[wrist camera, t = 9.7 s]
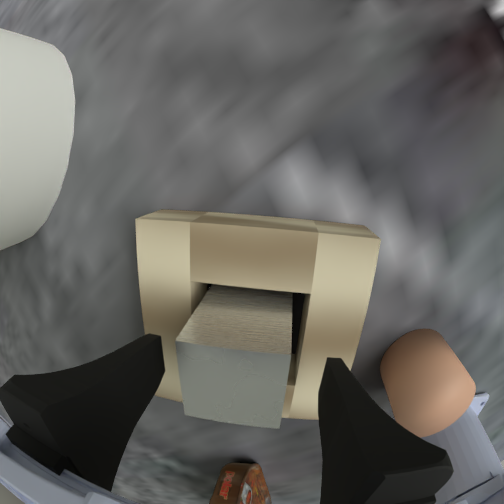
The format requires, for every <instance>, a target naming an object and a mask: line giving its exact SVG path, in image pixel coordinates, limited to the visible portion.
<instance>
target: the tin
mask: <svg viewBox="0 0 504 504" xmlns="http://www.w3.org/2000/svg"><path fill="white" fill-rule="evenodd" d="M209 504H271V497H270V494H269V491H268V488H267V485H266V482H265V479H264V476H263V473H262V469H261V467H260V465H259V464H257V463H254V464H245V463H228V464H226V465H225V466H224V467H223V468H222V469H221V471H220V476H219V478H218V481H217V483H216V486H215V489H214V492H213V495H212V497H211V499H210V503H209Z"/></svg>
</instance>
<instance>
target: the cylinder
mask: <svg viewBox="0 0 504 504" xmlns="http://www.w3.org/2000/svg"><path fill="white" fill-rule="evenodd" d="M74 112H75V96H74V88H73V79H72V73H71V71H70V69H69V66H68V64H67V61H66V58H65V56H64V55H63V54H62V53H61V52H60V51H59V50H58V49H57V48H56V47H55V46H54V45H52V44H49V43H46V42H43V41H40V40H37V39H34V38H31V37H28V36H25V35H21V34H18V33H15V32H11V31H8V30H4V29H1V28H0V250H3V249H5V248H8V247H10V246H13V245H15V244H18V243H20V242H22V241H24V240H26V239H28V238H30V237H32V236H34V235H35V233H36V232H37V231H38V230H39V229H40V227H41V226H42V225H43V224H44V223H45V222H46V221H47V219H48V217H49V214H50V212H51V210H52V208H53V206H54V204H55V202H56V200H57V199H58V196H59V193H60V189H61V186H62V183H63V180H64V176H65V173H66V170H67V167H68V161H69V155H70V150H71V144H72V139H73V134H74Z"/></svg>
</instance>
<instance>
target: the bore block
mask: <svg viewBox="0 0 504 504" xmlns="http://www.w3.org/2000/svg"><path fill="white" fill-rule="evenodd" d="M380 241H381V239H380V238H379V237H378V236H376V235H375V234H374V233H373V232H372V231H370V230H369V229H368V228H367V227H365V226H363V225H354V224H344V223H335V222H325V221H315V220H305V219H294V218H283V217H271V216H258V215H245V214H232V213H217V212H201V211H184V210H164V209H161V210H158V211H156V212H153V213H150V214H147V215H144V216H142V217H139V218H136V244H137V262H138V275H139V287H140V297H141V307H142V315H143V323H144V331H145V335H146V334H149V333H150V334H155V335H160V336H161V339H162V348H163V356H164V364H165V373H164V376H163V378H162V381H161V383H160V385H159V387H158V389H157V391H156V393H155V396H159V397H162V398H166V399H171V400H175V401H179V402H183V399H182V392H181V385H180V378H179V370H178V362H177V354H176V345H175V340H176V338H177V337H178V335H179V334H180V332H181V331H182V329H183V328H184V326H185V325H186V323H187V322H188V320H189V319H190V317H191V316H192V314H193V313H194V311H195V310H196V308H197V307H198V305H199V304H200V302H201V301H202V299H203V298H204V296H205V295H206V293H207V283H211V284H219V285H228V286H237V287H246V288H256V289H266V290H276V291H287V292H298V293H305V296H304V303H303V310H302V317H301V324H300V330H299V336H298V343H297V349H296V354H291V360H290V366H289V373H288V380H287V386H286V393H285V399H284V405H283V411H282V417H283V418H296V419H315V420H319V417H318V391H319V387H320V384H321V380H322V376H323V372H324V368H325V364H326V360H327V357H332V358H342V360H343V361H344V363H345V364H346V365H347V367H348V368H349V370H350V371H351V367H352V364H353V361H354V357H355V354H356V350H357V347H358V343H359V340H360V336H361V332H362V328H363V324H364V320H365V316H366V312H367V308H368V303H369V299H370V294H371V290H372V285H373V280H374V275H375V270H376V264H377V259H378V253H379V247H380Z"/></svg>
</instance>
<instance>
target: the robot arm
mask: <svg viewBox="0 0 504 504" xmlns="http://www.w3.org/2000/svg"><path fill="white" fill-rule="evenodd" d="M164 373H165V364H164V356H163V348H162V339H161V336H160V335H155V334H150V333H149V334H146V335H144V336H142V337H140V338H139V339H137V340H135V341H133V342H131V343H129V344H127V345H125V346H124V347H122V348H120V349H118V350H116V351H114V352H112V353H110V354H108V355H105V356H103V357H101V358H99V359H97V360H94V361H92V362H89V363H86V364H83V365H81V366H77V367H74V368H70V369H66V370H62V371H57V372H52V373H45V374H35V375H14V376H13V377H12V378H10V379H9V380H8V381H7V382H6V383H5V384H4V385H3V386H2V387H1V388H0V401H1V403H2V405H3V406H4V408H5V410H6V412H7V413H8V415H9V417H10V418H11V420H12V421H13V423H14V425H13V426H12V427H11V428H10V426H9V425H8V424H7V423H6V422H5V421H3V420H2V419H1V418H0V483H2V485H4V486H5V487H6V488H7V489H8V490H9V491H11V492H12V493H13V494H14V495H15V496H16V497H18V498H19V499H20V500H21V501H23V502H24V503H25V504H140V503H137V502H134V501H132V500H129V499H127V498H124V497H122V496H119V495H117V494H114V493H112V492H111V490H112V486H113V482H114V479H115V475H116V472H117V470H118V467H119V464H120V461H121V458H122V455H123V453H124V450H125V448H126V445H127V443H128V441H129V438H130V436H131V434H132V432H133V429H134V427H135V426H136V424H137V422H138V420H139V419H140V417H141V415H142V414H143V412H144V411H145V409H146V407H147V406H148V404H149V403H150V401H151V399H152V398H153V396H154V394H155V393H156V391H157V389H158V387H159V385H160V383H161V381H162V378H163V376H164ZM488 398H489V395H488V393H483V394H478V395H474V398H473V400H472V402H471V404H470V406H469V407H468V409H467V410H466V411H465V412H464V414H463V415H462V416H461V417H460V418H459V419H458V420H456V421H455V422H454V423H453V424H451V425H450V426H448V427H447V428H445V429H443V430H442V431H440V432H437V433H435V434H433V435H430V436H426V437H421V438H420V437H418V436H416V435H415V434H413V433H411V432H410V431H408V430H407V429H405V428H404V427H403V426H401V425H400V424H399V423H397V422H396V421H395V420H393V419H392V418H391V417H390V416H389V415H388V414H387V413H385V412H384V411H383V410H382V409H381V408H380V407H379V406H378V405H377V404H376V403H375V402H374V401H373V400H372V398H371V397H370V396H369V395H368V394H367V393H366V391H365V390H364V389H363V388H362V386H361V385H360V384H359V382H358V381H357V380H356V378H355V377H354V376H353V374H352V373H351V371H350V370H349V368H348V367H347V365H346V364H345V363H344V361H343V360H342V358H332V357H327V360H326V364H325V368H324V372H323V376H322V380H321V384H320V387H319V391H318V417H319V427H320V436H321V445H322V458H323V465H322V486H321V499H320V504H504V469H503V467H502V464H501V462H500V460H499V458H498V456H497V454H496V452H495V450H494V448H493V446H492V444H491V442H490V440H489V438H488V436H487V434H486V432H485V430H484V428H483V426H482V424H481V422H480V421H479V419H478V417H477V416H478V414H479V413H480V411H481V410H482V408H483V407H484V405H485V403H486V402H487V400H488Z"/></svg>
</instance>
